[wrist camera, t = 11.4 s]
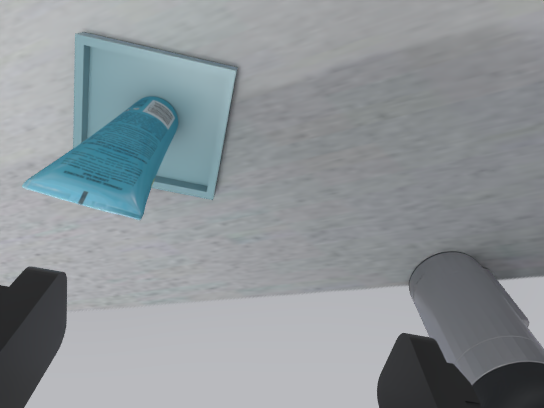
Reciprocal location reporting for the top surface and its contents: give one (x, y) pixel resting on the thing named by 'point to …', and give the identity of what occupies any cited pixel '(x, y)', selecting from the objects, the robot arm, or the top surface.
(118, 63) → the tray
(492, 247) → the top surface
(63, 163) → the tube
